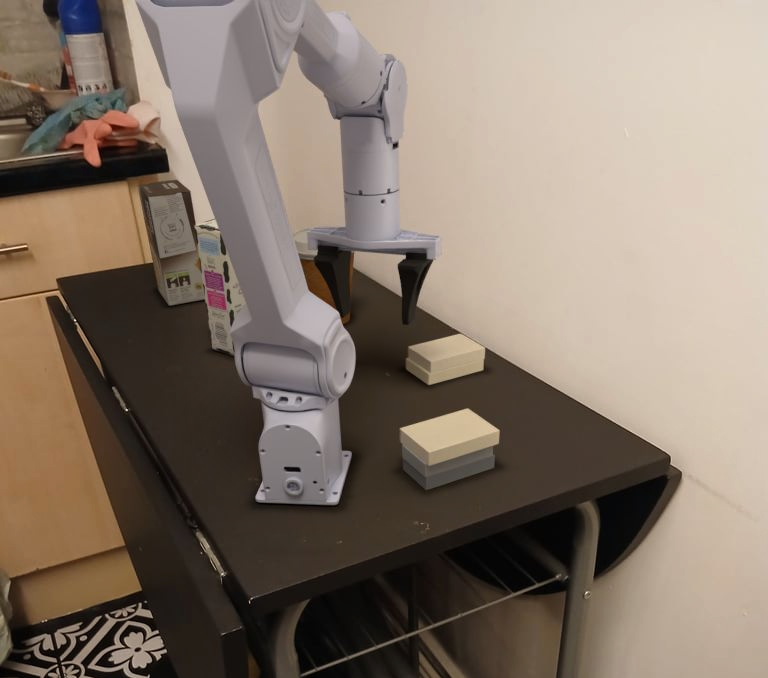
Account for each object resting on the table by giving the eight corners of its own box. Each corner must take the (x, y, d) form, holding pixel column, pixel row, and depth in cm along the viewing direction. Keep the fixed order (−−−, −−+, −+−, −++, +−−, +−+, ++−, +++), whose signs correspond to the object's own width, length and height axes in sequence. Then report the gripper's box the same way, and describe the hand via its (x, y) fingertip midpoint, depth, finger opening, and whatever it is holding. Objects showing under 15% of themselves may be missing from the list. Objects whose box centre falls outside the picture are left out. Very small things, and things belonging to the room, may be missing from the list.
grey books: (469, 448, 82) (470, 423, 81) (494, 467, 79) (496, 441, 77) (401, 470, 79) (401, 444, 77) (425, 491, 76) (425, 464, 74)
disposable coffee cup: (336, 336, 108) (330, 248, 102) (281, 325, 113) (272, 239, 106) (373, 314, 115) (370, 229, 108) (320, 303, 119) (313, 221, 112)
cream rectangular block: (467, 421, 81) (467, 407, 80) (499, 443, 77) (499, 430, 76) (399, 441, 78) (399, 427, 77) (428, 466, 74) (428, 452, 73)
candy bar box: (239, 358, 103) (220, 230, 94) (211, 350, 106) (190, 224, 96) (293, 330, 111) (281, 208, 101) (266, 323, 113) (252, 204, 104)
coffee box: (209, 299, 122) (192, 190, 113) (168, 307, 120) (147, 196, 111) (195, 282, 129) (177, 178, 120) (156, 289, 127) (135, 183, 118)
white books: (459, 355, 102) (460, 332, 100) (484, 370, 98) (485, 347, 96) (405, 369, 99) (405, 346, 97) (428, 385, 95) (428, 362, 93)
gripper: (451, 184, 81) (449, 312, 89) (322, 177, 86) (331, 300, 93) (430, 200, 76) (429, 335, 83) (294, 192, 80) (305, 320, 88)
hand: (376, 318), depth 88 cm, fingers open, 7 cm apart
